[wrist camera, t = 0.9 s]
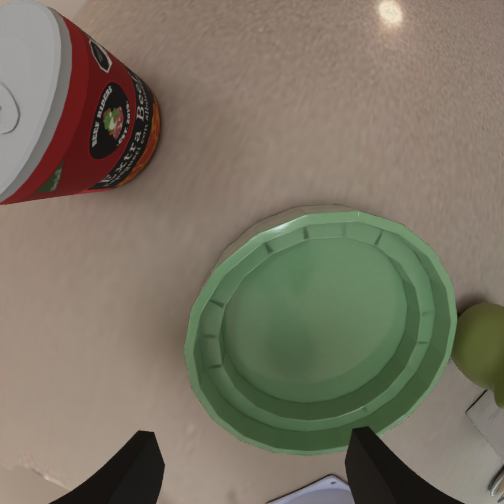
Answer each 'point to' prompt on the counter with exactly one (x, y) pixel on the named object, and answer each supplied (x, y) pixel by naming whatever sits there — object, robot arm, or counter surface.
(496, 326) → the pear
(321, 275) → the bowl
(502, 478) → the salad plate
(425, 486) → the robot arm
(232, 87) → the counter surface
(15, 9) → the canned food
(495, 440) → the white product box
